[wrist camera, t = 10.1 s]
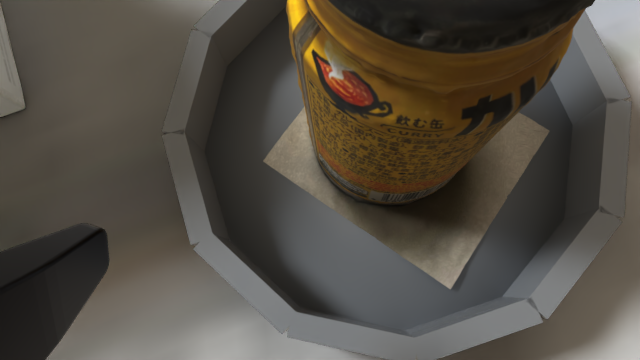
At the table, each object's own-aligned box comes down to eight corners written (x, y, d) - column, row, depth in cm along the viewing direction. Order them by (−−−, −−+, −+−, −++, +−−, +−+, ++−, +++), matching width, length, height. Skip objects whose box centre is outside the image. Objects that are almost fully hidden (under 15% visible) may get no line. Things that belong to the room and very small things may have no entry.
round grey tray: (412, 440, 16) (428, 474, 13) (118, 161, 19) (78, 139, 16) (661, 123, 18) (722, 92, 15) (363, -86, 21) (366, -145, 18)
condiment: (366, 24, 19) (402, -372, 8) (548, 132, 18) (928, -153, 6) (263, 163, 18) (121, -56, 7) (448, 289, 17) (686, 298, 5)
